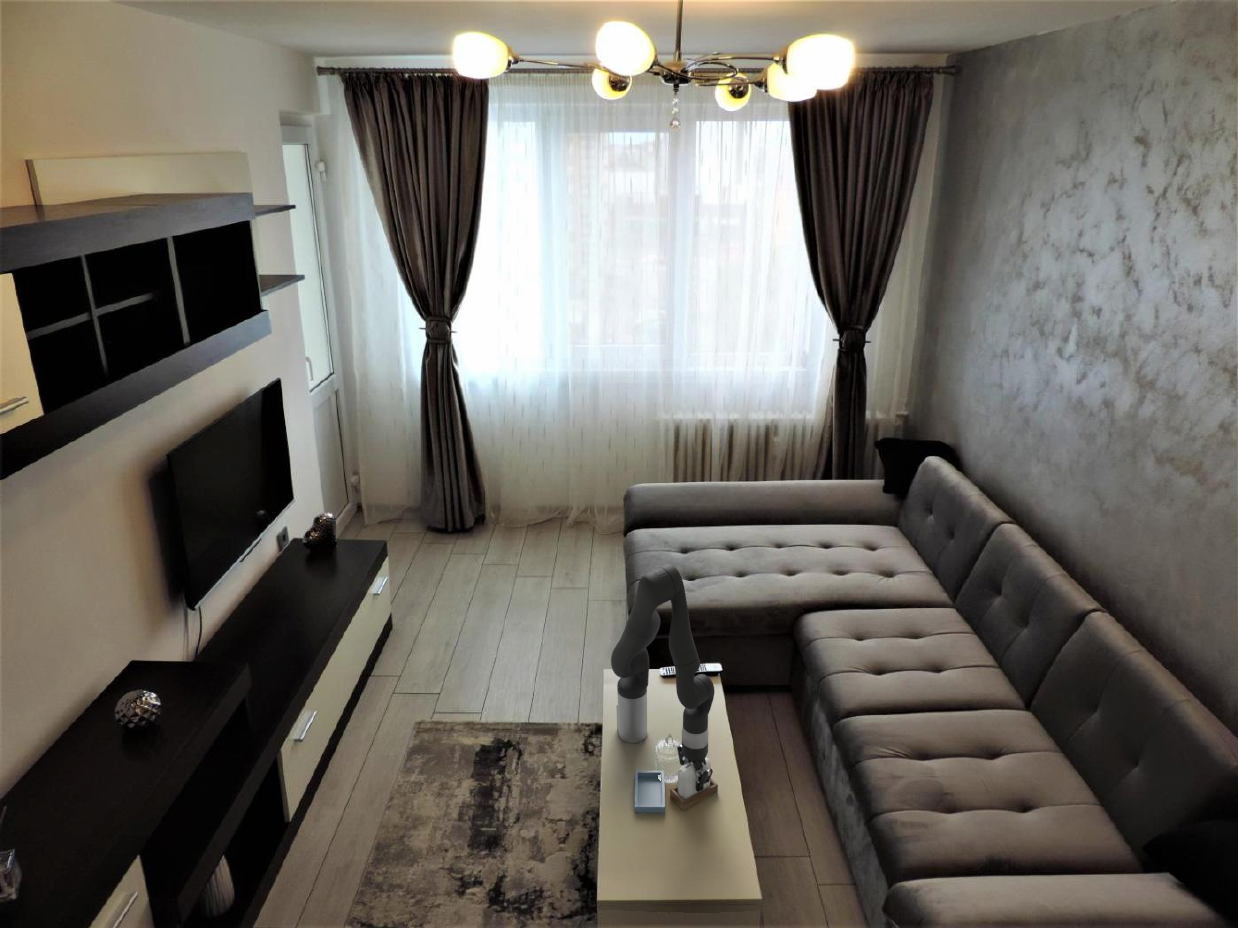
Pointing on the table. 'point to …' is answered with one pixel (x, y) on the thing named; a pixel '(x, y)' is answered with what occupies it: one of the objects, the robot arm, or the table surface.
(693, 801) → the brown wooden tray
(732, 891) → the table surface
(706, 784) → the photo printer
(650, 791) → the slate tray
